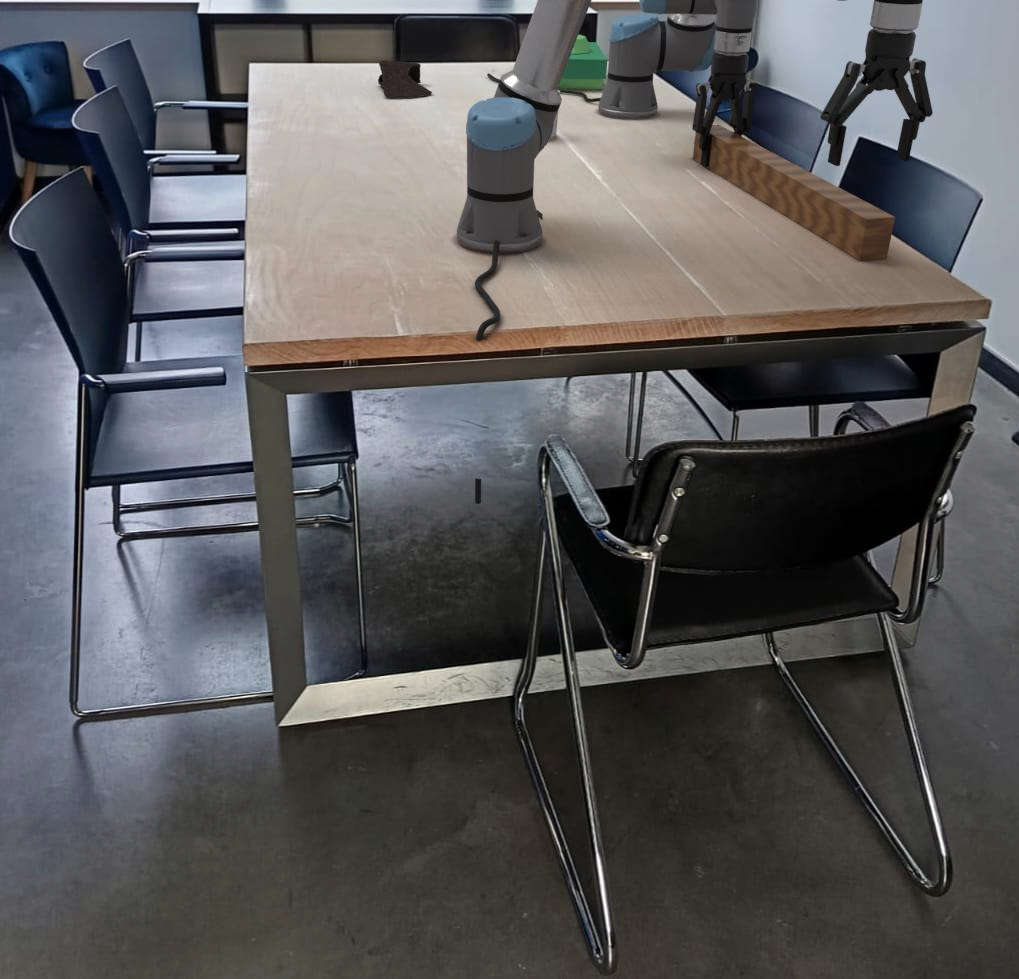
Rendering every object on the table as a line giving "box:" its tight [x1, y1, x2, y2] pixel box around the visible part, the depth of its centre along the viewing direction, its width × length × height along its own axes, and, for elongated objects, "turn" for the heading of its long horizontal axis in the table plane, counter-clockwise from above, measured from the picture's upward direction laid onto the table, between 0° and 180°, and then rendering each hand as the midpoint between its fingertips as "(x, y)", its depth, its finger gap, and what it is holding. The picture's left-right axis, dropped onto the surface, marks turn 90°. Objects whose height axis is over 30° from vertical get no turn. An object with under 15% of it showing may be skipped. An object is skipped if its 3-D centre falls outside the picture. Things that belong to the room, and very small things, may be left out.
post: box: [692, 124, 896, 261], centre depth 217 cm, size 68×6×7 cm, turn 17°
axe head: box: [377, 59, 433, 99], centre depth 299 cm, size 18×8×15 cm
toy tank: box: [558, 34, 608, 90], centre depth 315 cm, size 18×12×35 cm
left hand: (868, 161), depth 189 cm, fingers open, 13 cm apart
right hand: (717, 163), depth 241 cm, fingers closed on post, 6 cm apart
